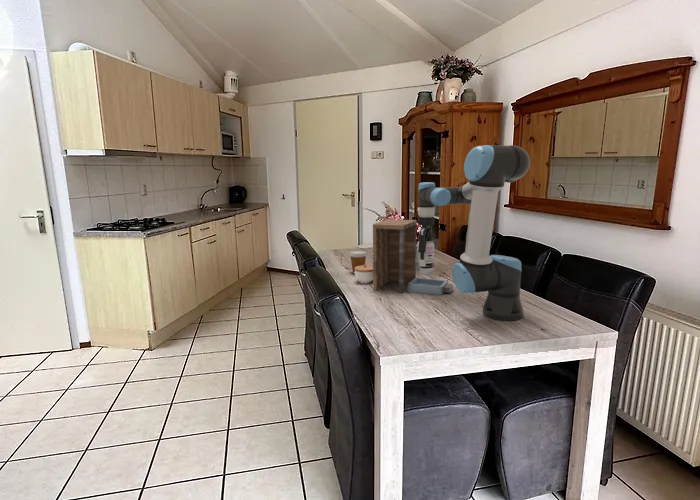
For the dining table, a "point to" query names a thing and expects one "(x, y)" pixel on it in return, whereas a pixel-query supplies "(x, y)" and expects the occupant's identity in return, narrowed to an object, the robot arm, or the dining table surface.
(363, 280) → the lidded jar
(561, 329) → the dining table surface
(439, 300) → the dining table surface
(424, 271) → the supplement can
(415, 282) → the tray
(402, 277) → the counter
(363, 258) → the disposable coffee cup
